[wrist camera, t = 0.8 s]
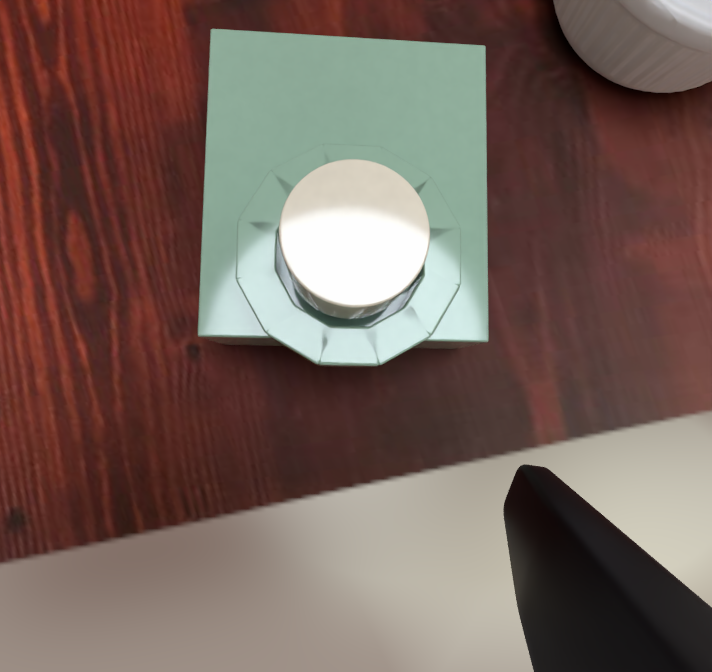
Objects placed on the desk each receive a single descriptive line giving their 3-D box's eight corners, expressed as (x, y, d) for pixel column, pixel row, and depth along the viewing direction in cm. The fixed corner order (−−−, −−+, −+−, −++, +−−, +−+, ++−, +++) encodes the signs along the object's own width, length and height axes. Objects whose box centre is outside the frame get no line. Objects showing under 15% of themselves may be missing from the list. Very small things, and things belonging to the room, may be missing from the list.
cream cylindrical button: (412, 320, 15) (431, 309, 13) (283, 317, 15) (276, 305, 12) (413, 196, 16) (430, 161, 13) (287, 191, 15) (280, 154, 13)
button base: (457, 370, 21) (511, 368, 15) (220, 367, 20) (178, 362, 14) (456, 105, 22) (506, 3, 16) (231, 93, 21) (195, -18, 15)
